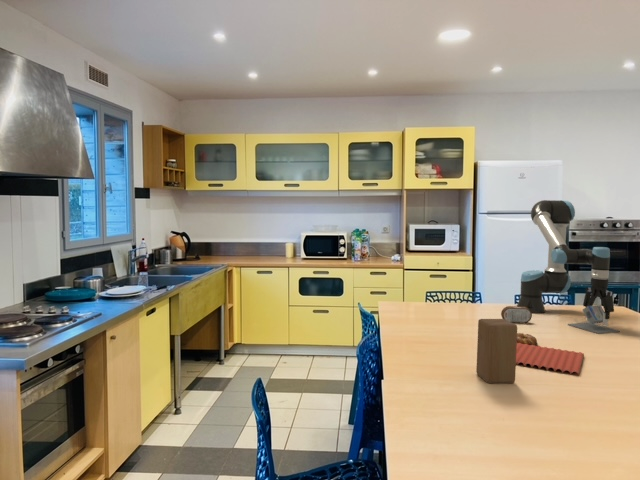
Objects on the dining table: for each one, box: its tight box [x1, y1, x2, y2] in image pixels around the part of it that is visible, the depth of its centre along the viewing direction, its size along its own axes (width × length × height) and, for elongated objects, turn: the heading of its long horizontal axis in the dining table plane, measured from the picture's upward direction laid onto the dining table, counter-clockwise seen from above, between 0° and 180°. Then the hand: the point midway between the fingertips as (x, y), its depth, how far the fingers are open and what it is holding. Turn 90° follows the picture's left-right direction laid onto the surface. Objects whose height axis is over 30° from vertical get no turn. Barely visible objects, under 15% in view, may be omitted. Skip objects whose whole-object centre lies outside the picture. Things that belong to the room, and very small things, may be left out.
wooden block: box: [475, 318, 518, 384], centre depth 163 cm, size 10×10×20 cm
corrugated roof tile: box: [516, 343, 585, 377], centre depth 187 cm, size 28×28×2 cm
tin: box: [500, 305, 533, 324], centre depth 249 cm, size 15×3×8 cm, turn 84°
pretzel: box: [517, 332, 538, 346], centre depth 210 cm, size 12×11×4 cm
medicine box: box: [582, 304, 605, 324], centre depth 237 cm, size 8×4×9 cm
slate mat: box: [567, 321, 621, 334], centre depth 239 cm, size 18×14×1 cm
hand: (597, 323), depth 238 cm, fingers closed on medicine box, 8 cm apart
